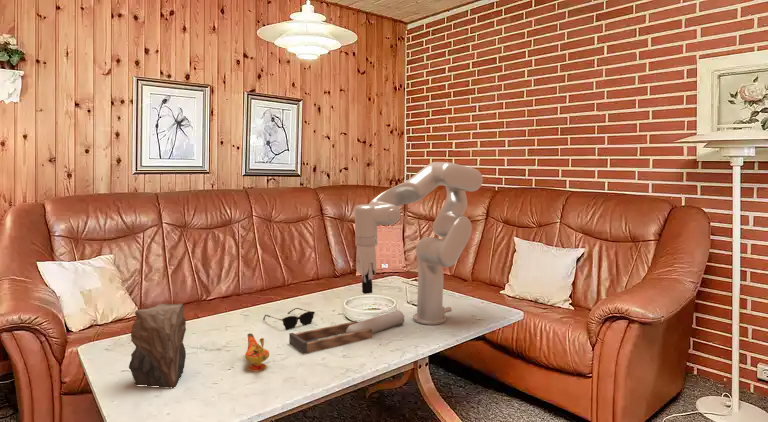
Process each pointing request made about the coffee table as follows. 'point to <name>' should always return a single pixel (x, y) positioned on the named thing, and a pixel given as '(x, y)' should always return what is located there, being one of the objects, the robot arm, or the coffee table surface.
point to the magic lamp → (256, 354)
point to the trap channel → (309, 342)
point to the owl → (158, 345)
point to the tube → (378, 322)
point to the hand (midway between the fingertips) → (367, 292)
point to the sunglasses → (296, 319)
